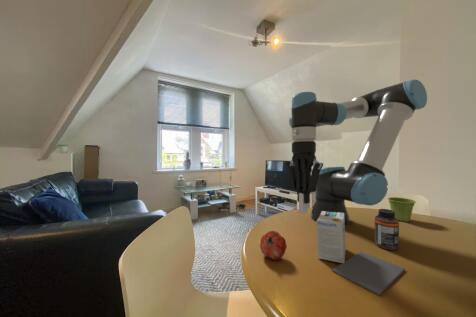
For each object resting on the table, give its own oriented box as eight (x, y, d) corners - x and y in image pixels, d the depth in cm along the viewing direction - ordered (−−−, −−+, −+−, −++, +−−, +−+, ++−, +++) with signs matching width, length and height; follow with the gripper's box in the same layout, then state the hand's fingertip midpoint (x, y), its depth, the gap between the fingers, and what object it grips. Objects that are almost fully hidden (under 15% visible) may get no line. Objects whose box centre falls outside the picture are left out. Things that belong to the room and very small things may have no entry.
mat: (332, 271, 48) (332, 269, 48) (360, 253, 56) (360, 251, 56) (379, 295, 40) (379, 293, 40) (404, 270, 48) (404, 268, 48)
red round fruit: (264, 256, 60) (249, 246, 53) (274, 233, 62) (260, 222, 56) (285, 268, 54) (271, 259, 48) (295, 243, 57) (283, 231, 51)
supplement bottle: (376, 240, 65) (377, 206, 64) (399, 246, 60) (400, 210, 60) (372, 246, 60) (373, 210, 60) (397, 253, 56) (397, 214, 56)
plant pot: (422, 223, 79) (422, 202, 79) (398, 223, 80) (399, 202, 79) (402, 215, 89) (403, 197, 89) (382, 216, 89) (382, 197, 89)
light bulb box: (322, 243, 62) (320, 210, 63) (346, 247, 59) (344, 212, 59) (317, 258, 53) (315, 219, 53) (345, 264, 50) (343, 222, 50)
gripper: (280, 142, 67) (280, 209, 67) (314, 139, 56) (313, 220, 57) (295, 142, 71) (295, 206, 72) (328, 140, 60) (328, 215, 61)
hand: (303, 212), depth 64 cm, fingers closed
